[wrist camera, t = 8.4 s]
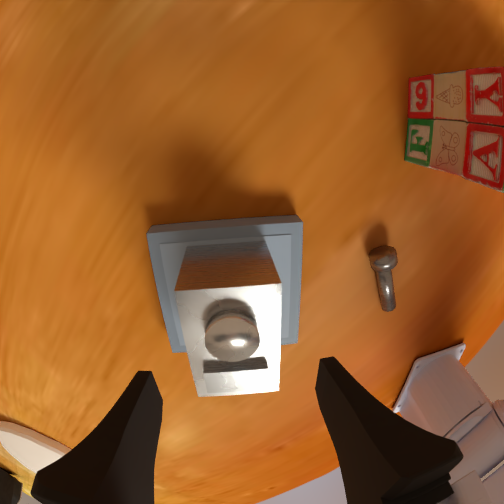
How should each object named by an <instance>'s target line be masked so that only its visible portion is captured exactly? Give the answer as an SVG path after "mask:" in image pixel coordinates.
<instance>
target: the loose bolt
mask: <svg viewBox="0 0 504 504" xmlns="http://www.w3.org/2000/svg"><path fill="white" fill-rule="evenodd" d="M369 259H370V264H371V268H372V269H373V270H375V271H376V277H377V282H378V288H379V293H380V299H381V306H382V309H383V310H384V311H387V312H388V311H392V310H394V309H395V307H396V301H395V293H394V285H393V278H392V271H391V269H393V268H394V267H395V266H396V265H397V263H398V259H397V253H396V249H395V248H394V247H391V246H380V247H377V248H375V249H373V250H372V251H371V252H370V254H369Z"/></svg>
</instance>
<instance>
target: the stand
mask: <svg viewBox="0 0 504 504" xmlns="http://www.w3.org/2000/svg"><path fill="white" fill-rule="evenodd" d="M146 234H147V240H148V246H149V251H150V257H151V262H152V267H153V272H154V277H155V282H156V287H157V291H158V296H159V300H160V305H161V309H162V313H163V317H164V321H165V325H166V329H167V333H168V337H169V341H170V345H171V348H172V352H173V353H176V352H187V350H186V345H185V341H184V336H183V332H182V327H181V323H180V318H179V313H178V308H177V303H176V298H175V293H174V290H175V286H176V283H177V279H178V275H179V272H180V268H181V265H182V261H183V258H184V254H185V251H186V247H187V246H198V245H211V244H225V243H240V242H254V241H266V244H267V246H268V249H269V252H270V254H271V257H272V259H273V262H274V264H275V267H276V270H277V272H278V275H279V277H280V280H281V283H282V298H281V341H280V345H285V344H294V343H298V328H299V312H300V293H301V271H302V241H303V222H302V220H301V219H300V218H299V217H298V216H297V215H286V216H268V217H252V218H237V219H223V220H210V221H197V222H185V223H174V224H163V225H152V226H151V228H150V229H149V231H148V232H147V233H146Z"/></svg>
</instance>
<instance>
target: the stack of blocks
mask: <svg viewBox="0 0 504 504" xmlns="http://www.w3.org/2000/svg"><path fill="white" fill-rule="evenodd" d="M404 159H405V161H407V162H411V163H414V164H417V165H421V166H424V167H427V168H431V169H435V170H439V171H444V172H448V173H451V174H455V175H459V176H462V177H463V178H465V179H466V180H469V181H472V182H475V183H478V184H481V185H483V186H486V187H489V188H492V189H494V190H497V191H500V192H503V193H504V67H486V68H475V69H467V70H463V71H456V72H449V73H441V74H430V75H424V76H419V77H412V78H409V93H408V128H407V140H406V150H405V158H404Z"/></svg>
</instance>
